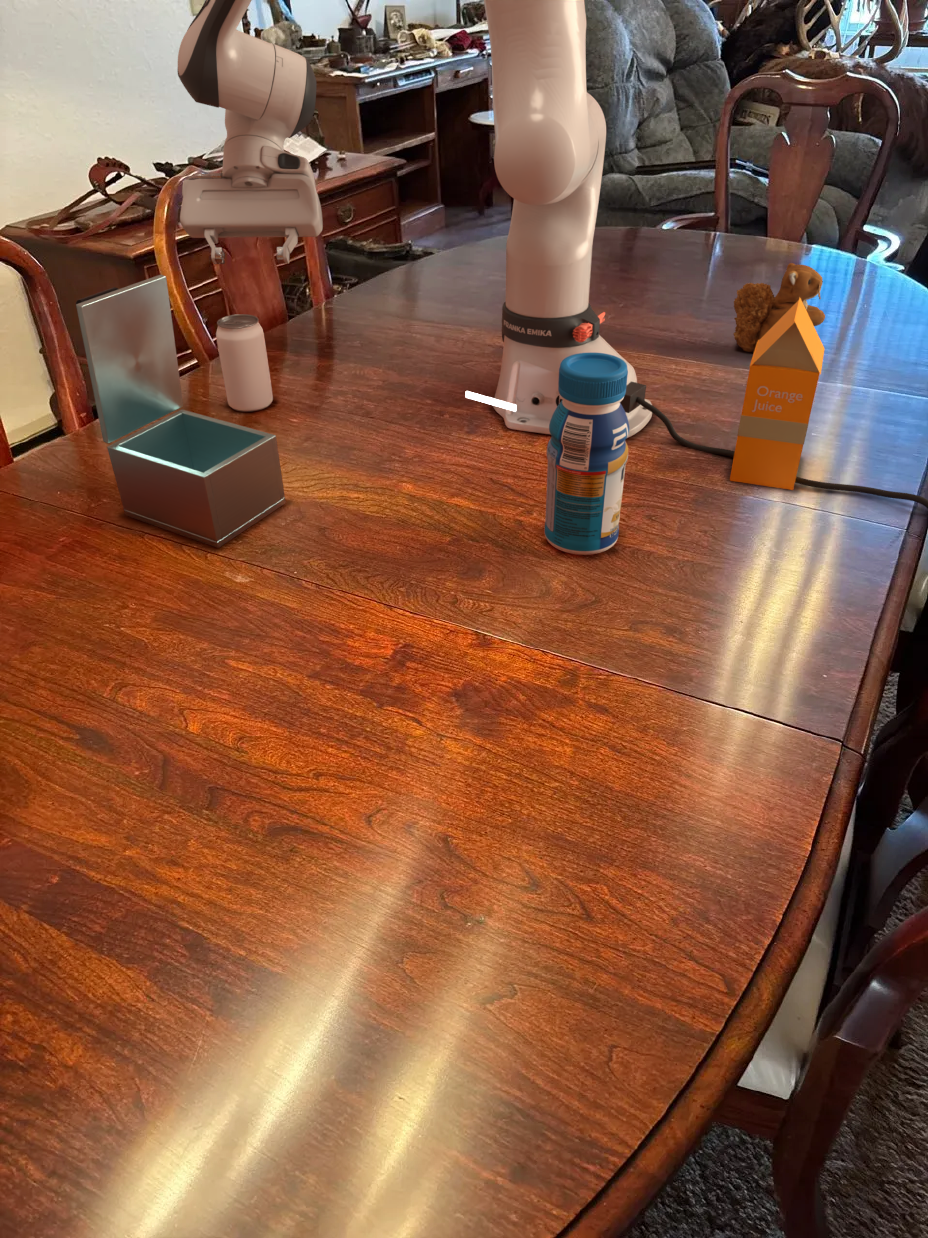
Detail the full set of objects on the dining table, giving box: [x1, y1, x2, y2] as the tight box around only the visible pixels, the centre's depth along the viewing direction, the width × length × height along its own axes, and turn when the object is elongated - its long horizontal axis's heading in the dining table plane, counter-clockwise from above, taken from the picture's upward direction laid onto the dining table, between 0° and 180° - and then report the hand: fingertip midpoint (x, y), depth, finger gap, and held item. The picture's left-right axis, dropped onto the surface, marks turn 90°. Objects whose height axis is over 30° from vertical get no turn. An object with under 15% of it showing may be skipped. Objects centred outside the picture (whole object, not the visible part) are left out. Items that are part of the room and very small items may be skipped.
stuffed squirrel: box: [733, 262, 826, 353], centre depth 143 cm, size 10×14×13 cm
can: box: [215, 313, 274, 413], centre depth 129 cm, size 6×6×12 cm
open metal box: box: [106, 409, 287, 549], centre depth 106 cm, size 15×12×9 cm
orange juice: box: [729, 298, 826, 491], centre depth 109 cm, size 8×9×20 cm
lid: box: [75, 274, 184, 444], centre depth 102 cm, size 16×12×5 cm
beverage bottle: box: [544, 353, 629, 556], centre depth 96 cm, size 8×8×20 cm
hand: (250, 261), depth 133 cm, fingers open, 8 cm apart
